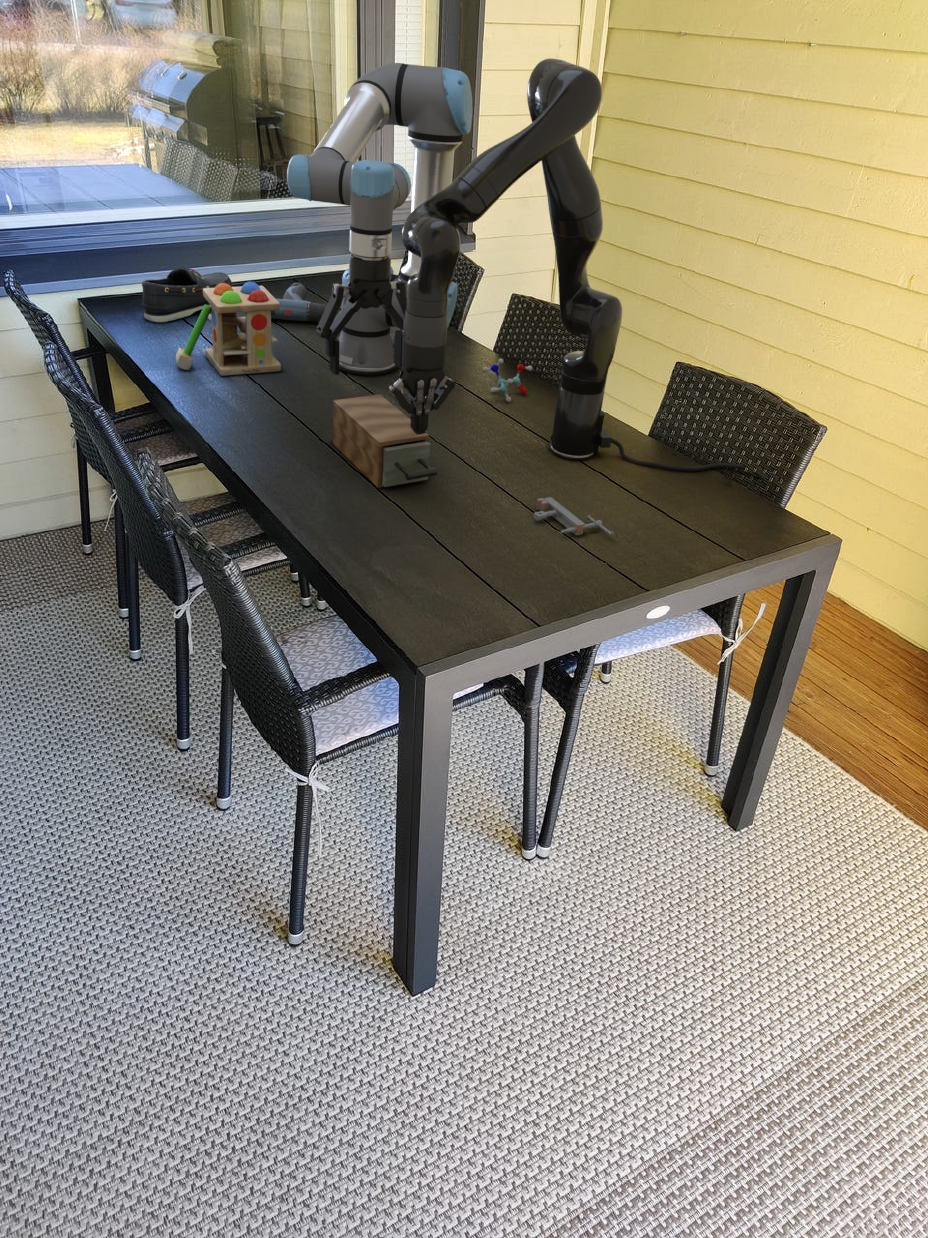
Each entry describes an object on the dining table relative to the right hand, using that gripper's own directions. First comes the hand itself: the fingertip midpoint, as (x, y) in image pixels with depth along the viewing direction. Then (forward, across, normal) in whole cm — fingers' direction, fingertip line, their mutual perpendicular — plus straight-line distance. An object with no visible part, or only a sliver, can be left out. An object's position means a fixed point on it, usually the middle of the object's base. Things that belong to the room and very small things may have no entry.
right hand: (418, 432), depth 177 cm
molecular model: (+13, +43, +38) cm, 59 cm away
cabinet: (+13, 0, +16) cm, 20 cm away
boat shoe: (+13, -6, +119) cm, 120 cm away
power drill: (+13, +22, +106) cm, 109 cm away
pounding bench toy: (+13, -11, +74) cm, 76 cm away
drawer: (+12, 0, +10) cm, 16 cm away
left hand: (-4, 0, +22) cm, 22 cm away
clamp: (+13, +20, -21) cm, 32 cm away
